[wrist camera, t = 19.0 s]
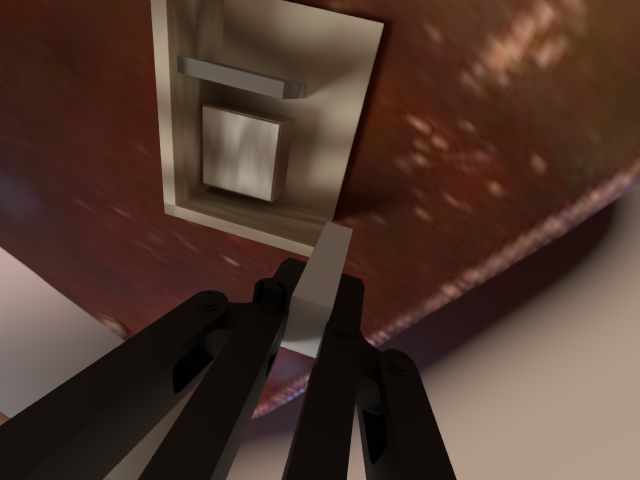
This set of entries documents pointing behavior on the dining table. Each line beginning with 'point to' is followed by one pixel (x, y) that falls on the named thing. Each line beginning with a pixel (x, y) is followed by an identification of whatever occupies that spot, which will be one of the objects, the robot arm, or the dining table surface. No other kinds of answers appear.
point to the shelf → (261, 106)
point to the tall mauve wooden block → (245, 150)
